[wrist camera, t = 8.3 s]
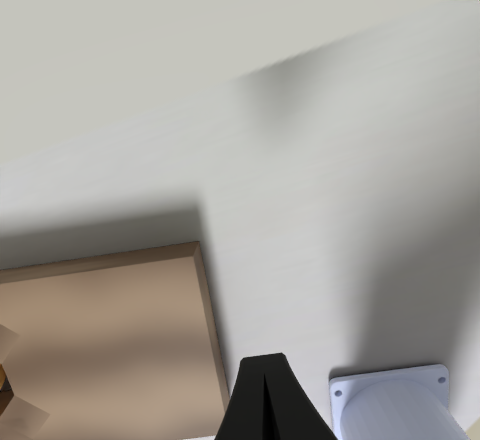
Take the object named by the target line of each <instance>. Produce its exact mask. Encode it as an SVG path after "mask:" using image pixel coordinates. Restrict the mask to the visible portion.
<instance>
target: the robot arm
mask: <svg viewBox="0 0 480 440" xmlns="http://www.w3.org/2000/svg"><path fill="white" fill-rule="evenodd" d="M440 377H441V378H440ZM448 387H449V371H448V369H447V368H446V367H445V366H444V365H442V364H436V365H428V366H420V367H413V368H405V369H397V370H390V371H382V372H374V373H367V374H359V375H351V376H344V377H336V378H333V379H331V380H330V382H329V392H330V403H331V414H332V425H333V432H332V431H331V429H330V428H329V427H328V425H327V424H326V423H325V421H324V420H323V419H322V417H321V416H320V414H319V413H318V412H317V410H316V409H315V407H314V406H313V404H312V403H311V401H310V400H309V398H308V397H307V395H306V394H305V392H304V390H303V389H302V387H301V386H300V384H299V382H298V380H297V379H296V377H295V375H294V373H293V371H292V370H291V367H290V365H289V363H288V361H287V359H286V356H285V355H284V354H283V353H275V354H268V355H260V356H253V357H245V358H243V359H242V360H241V361H240V367H239V371H238V375H237V379H236V383H235V386H234V389H233V393H232V396H231V398H230V401H229V404H228V407H227V410H226V412H225V415H224V418H223V421H222V423H221V425H220V428H219V430H218V432H217V435H216V437H215V440H470V438H469V437H468V436H467V435H466V433H465V432H464V431H463V430H462V428H461V427H460V426H459V424H458V423H457V422H456V421H455V419H454V418H453V417H452V416H451V414H450V413H449V412H448ZM338 390H339V391H338ZM336 391H338V392H336Z"/></svg>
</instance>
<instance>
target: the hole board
mask: <svg viewBox="0 0 480 440" xmlns="http://www.w3.org/2000/svg"><path fill="white" fill-rule="evenodd" d="M0 364H2V366H3V369H4V371H5V373H6V376H7V378H8V381H9V383H10V385H11V388H12V391H5V392H0V440H183V439H191V438H198V437H206V436H214V435H217V432H218V430H219V428H220V425H221V423H222V421H223V418H224V415H225V412H226V410H227V407H228V404H229V401H230V399H229V394H228V388H227V383H226V378H225V373H224V368H223V363H222V357H221V352H220V347H219V342H218V337H217V332H216V327H215V321H214V316H213V311H212V306H211V301H210V296H209V290H208V285H207V280H206V275H205V270H204V265H203V260H202V254H201V249H200V244H199V241H197V242H190V243H183V244H176V245H169V246H163V247H156V248H149V249H142V250H135V251H128V252H121V253H115V254H108V255H101V256H94V257H87V258H80V259H73V260H67V261H60V262H53V263H46V264H39V265H32V266H25V267H18V268H12V269H5V270H0Z"/></svg>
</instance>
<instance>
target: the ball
mask: <svg viewBox="0 0 480 440" xmlns="http://www.w3.org/2000/svg"><path fill="white" fill-rule="evenodd" d="M5 378H6V373H5V371H4V369H3V366H2V364H0V389H1V387H2V386H3V384H4V381H5Z"/></svg>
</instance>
